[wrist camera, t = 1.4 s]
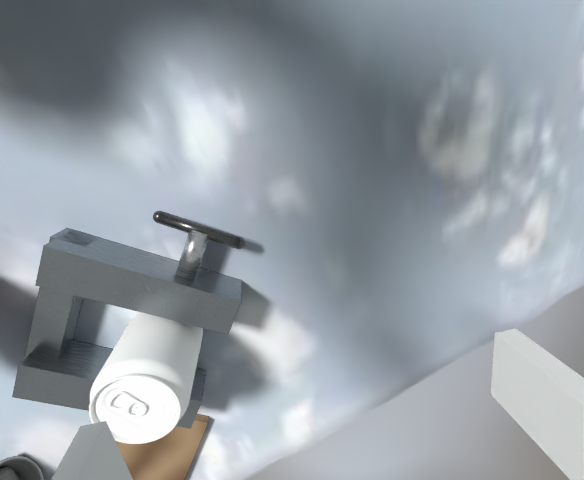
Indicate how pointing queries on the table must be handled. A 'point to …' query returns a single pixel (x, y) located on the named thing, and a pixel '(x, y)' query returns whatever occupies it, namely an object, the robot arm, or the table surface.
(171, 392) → the beverage can
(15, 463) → the ceramic mug
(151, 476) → the pad
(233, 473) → the table surface
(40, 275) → the c-clamp
